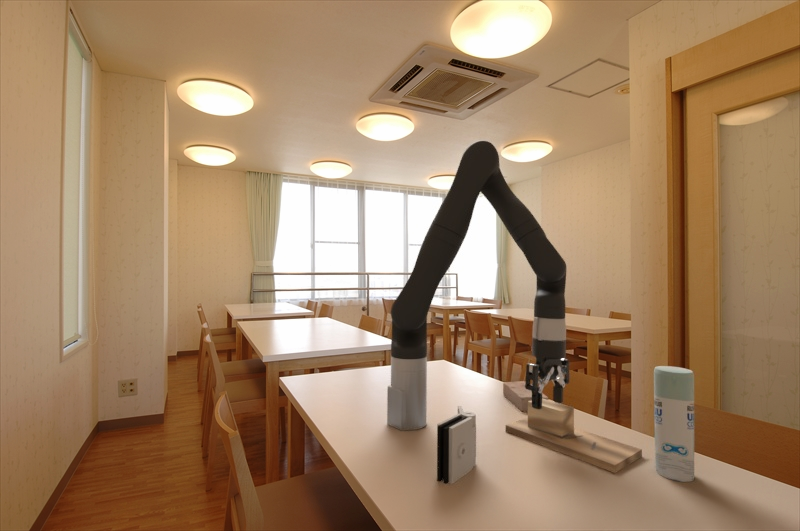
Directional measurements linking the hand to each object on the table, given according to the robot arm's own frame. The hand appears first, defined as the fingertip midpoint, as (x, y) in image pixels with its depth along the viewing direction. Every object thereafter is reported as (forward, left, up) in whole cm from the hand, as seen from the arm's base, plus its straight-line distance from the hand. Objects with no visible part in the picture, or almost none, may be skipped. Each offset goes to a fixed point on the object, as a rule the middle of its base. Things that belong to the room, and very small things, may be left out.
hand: (547, 405), depth 96 cm
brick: (+18, +19, -8) cm, 27 cm away
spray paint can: (+4, -25, -8) cm, 26 cm away
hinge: (-28, +2, -8) cm, 30 cm away
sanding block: (+1, 0, -6) cm, 6 cm away
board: (+1, -5, -7) cm, 9 cm away
